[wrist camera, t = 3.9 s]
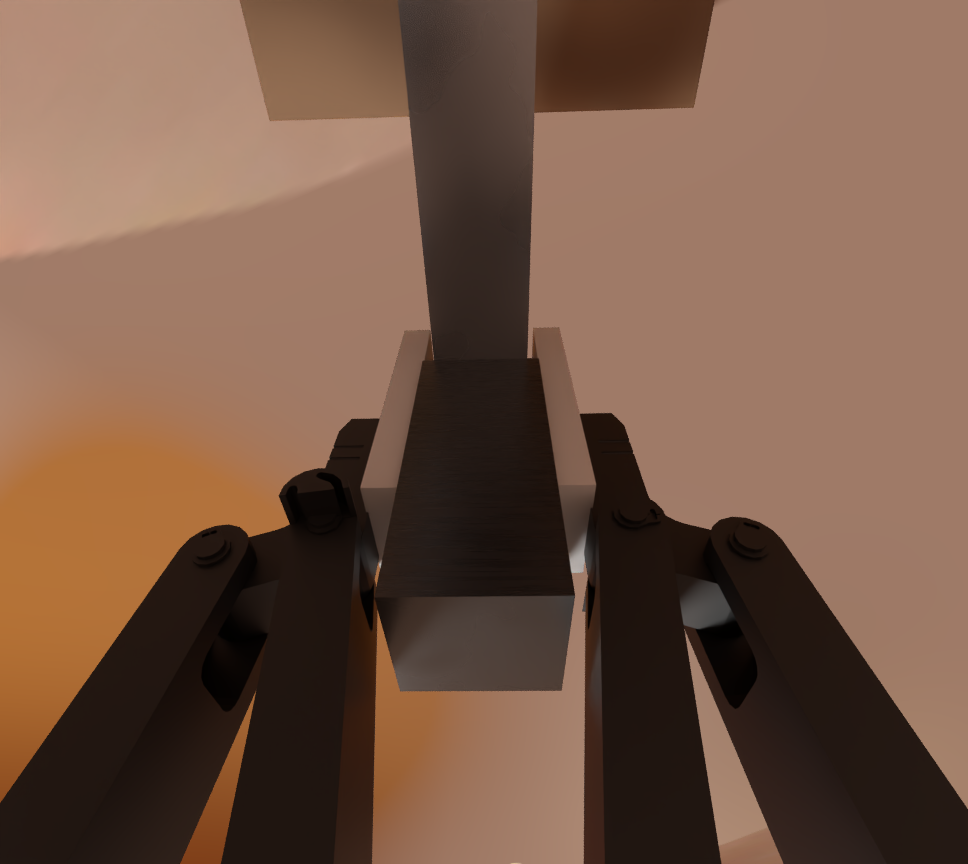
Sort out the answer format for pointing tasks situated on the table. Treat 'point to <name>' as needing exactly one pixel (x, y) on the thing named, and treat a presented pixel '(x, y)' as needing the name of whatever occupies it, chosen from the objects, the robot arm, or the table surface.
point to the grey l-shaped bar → (475, 376)
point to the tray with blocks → (559, 56)
